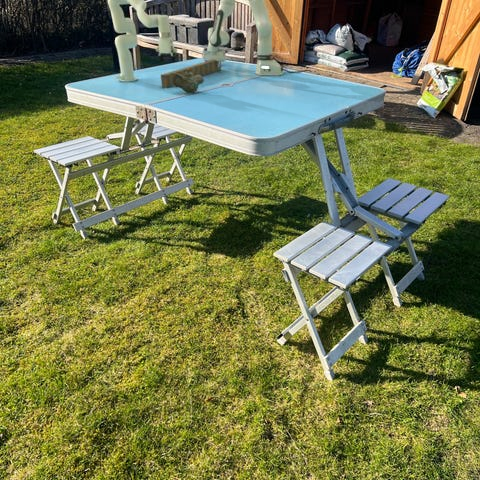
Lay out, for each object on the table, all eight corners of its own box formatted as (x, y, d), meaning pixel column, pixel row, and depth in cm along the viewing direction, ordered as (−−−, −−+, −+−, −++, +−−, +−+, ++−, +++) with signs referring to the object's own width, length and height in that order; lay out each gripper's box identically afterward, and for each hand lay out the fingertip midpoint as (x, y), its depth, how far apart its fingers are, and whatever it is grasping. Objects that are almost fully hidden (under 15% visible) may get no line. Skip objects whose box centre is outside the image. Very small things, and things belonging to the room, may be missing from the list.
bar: (167, 87, 317) (166, 75, 312) (161, 87, 319) (160, 74, 314) (221, 69, 375) (220, 58, 371) (216, 69, 377) (215, 58, 373)
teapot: (202, 89, 310) (201, 66, 302) (206, 92, 300) (205, 69, 293) (172, 92, 304) (169, 68, 296) (175, 95, 295) (173, 71, 287)
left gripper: (178, 35, 305) (180, 61, 313) (157, 34, 312) (160, 60, 320) (172, 36, 299) (174, 63, 307) (151, 35, 306) (154, 62, 315)
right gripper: (227, 48, 361) (227, 66, 368) (205, 47, 370) (206, 65, 377) (223, 49, 356) (223, 68, 363) (201, 48, 365) (202, 66, 372)
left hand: (167, 62), depth 314 cm, fingers open, 9 cm apart
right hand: (214, 66), depth 370 cm, fingers closed on bar, 5 cm apart
